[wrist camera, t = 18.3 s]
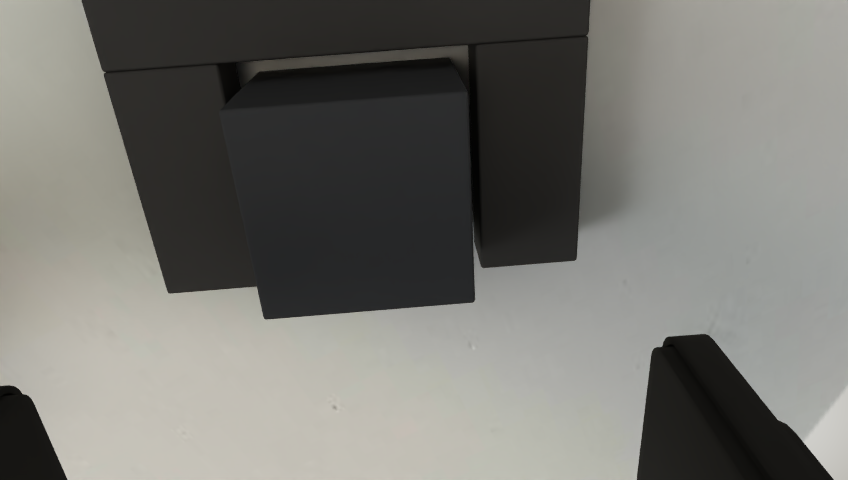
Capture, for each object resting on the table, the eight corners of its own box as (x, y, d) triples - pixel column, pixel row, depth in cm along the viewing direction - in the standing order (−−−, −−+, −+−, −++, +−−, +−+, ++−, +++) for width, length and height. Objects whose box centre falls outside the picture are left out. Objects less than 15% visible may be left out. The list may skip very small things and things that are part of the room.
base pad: (580, -230, 16) (603, -252, 15) (562, 235, 23) (577, 261, 21) (59, -194, 16) (17, -211, 14) (185, 266, 22) (167, 294, 21)
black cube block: (450, 56, 19) (468, 90, 15) (458, 230, 22) (475, 303, 18) (257, 71, 19) (217, 110, 15) (289, 244, 22) (263, 320, 18)
